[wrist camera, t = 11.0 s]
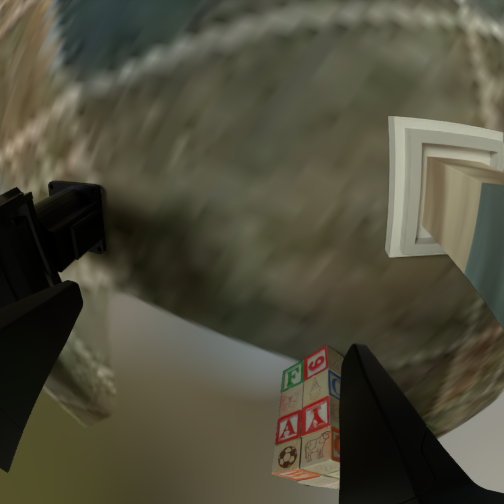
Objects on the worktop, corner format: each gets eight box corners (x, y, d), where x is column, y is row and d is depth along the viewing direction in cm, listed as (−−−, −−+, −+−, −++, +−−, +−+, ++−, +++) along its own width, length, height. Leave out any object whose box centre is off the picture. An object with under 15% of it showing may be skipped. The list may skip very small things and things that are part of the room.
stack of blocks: (414, 406, 30) (428, 479, 19) (378, 424, 33) (385, 494, 22) (325, 343, 25) (331, 462, 15) (280, 370, 28) (269, 476, 17)
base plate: (384, 249, 20) (393, 264, 18) (388, 116, 15) (399, 117, 13) (481, 244, 18) (493, 257, 16) (494, 130, 14) (510, 134, 12)
